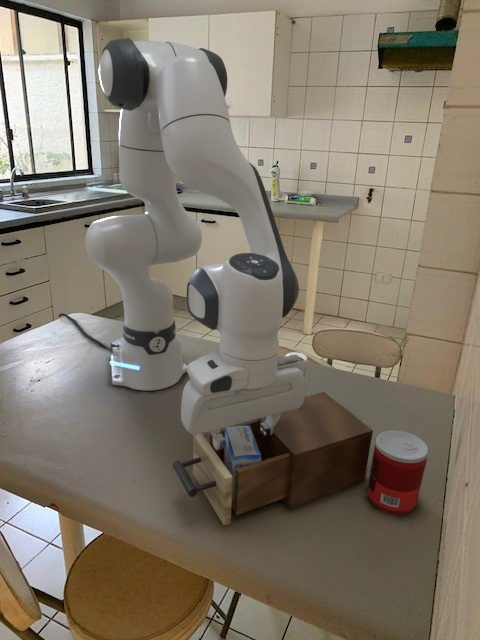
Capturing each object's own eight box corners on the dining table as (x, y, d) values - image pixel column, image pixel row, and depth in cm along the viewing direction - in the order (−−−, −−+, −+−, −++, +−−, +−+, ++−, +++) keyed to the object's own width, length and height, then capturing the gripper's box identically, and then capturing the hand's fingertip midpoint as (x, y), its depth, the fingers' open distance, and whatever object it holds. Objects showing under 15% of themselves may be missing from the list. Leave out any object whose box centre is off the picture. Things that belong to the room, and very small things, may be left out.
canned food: (426, 510, 75) (439, 455, 71) (383, 520, 73) (394, 463, 69) (398, 479, 82) (409, 426, 78) (358, 486, 80) (367, 433, 75)
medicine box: (222, 468, 80) (224, 426, 76) (248, 466, 80) (250, 423, 77) (231, 502, 72) (233, 456, 69) (259, 498, 73) (262, 453, 70)
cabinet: (289, 509, 74) (294, 455, 70) (249, 458, 85) (252, 409, 81) (364, 481, 81) (373, 430, 77) (318, 437, 92) (324, 391, 88)
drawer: (195, 536, 67) (195, 488, 64) (167, 482, 78) (166, 438, 74) (303, 496, 76) (308, 452, 72) (265, 452, 86) (268, 411, 83)
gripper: (295, 344, 76) (287, 415, 81) (176, 366, 67) (177, 444, 73) (317, 361, 71) (307, 435, 76) (192, 387, 62) (191, 469, 67)
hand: (243, 440), depth 74 cm, fingers open, 7 cm apart
